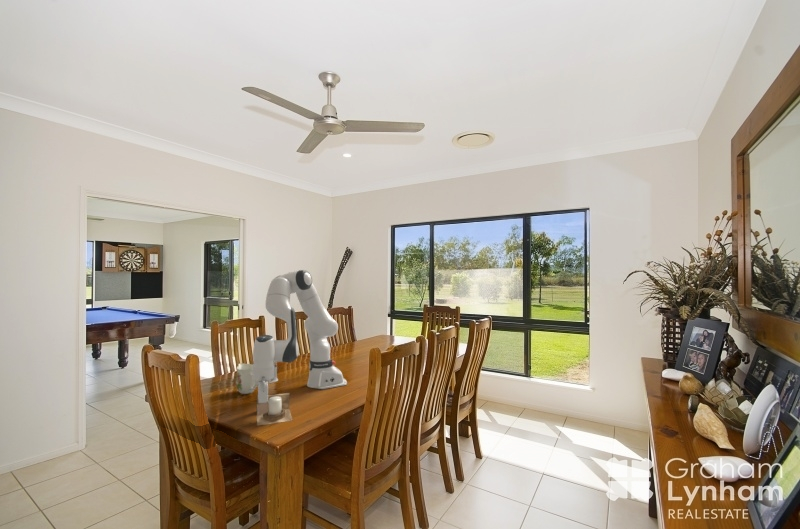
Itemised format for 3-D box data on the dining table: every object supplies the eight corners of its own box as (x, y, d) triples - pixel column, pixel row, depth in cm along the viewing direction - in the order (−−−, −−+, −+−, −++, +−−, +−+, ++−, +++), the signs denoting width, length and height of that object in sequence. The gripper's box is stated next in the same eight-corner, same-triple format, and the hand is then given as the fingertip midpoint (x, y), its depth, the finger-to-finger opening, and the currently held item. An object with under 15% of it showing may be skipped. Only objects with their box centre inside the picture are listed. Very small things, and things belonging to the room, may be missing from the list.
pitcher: (246, 399, 178) (246, 371, 178) (229, 391, 189) (229, 365, 190) (266, 393, 186) (266, 367, 187) (248, 386, 198) (249, 361, 198)
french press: (276, 377, 216) (277, 336, 216) (281, 382, 206) (282, 339, 207) (259, 379, 210) (260, 337, 211) (263, 384, 201) (264, 340, 201)
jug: (279, 411, 157) (279, 395, 156) (283, 416, 153) (283, 400, 152) (256, 417, 151) (255, 401, 150) (259, 424, 147) (259, 407, 146)
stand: (288, 410, 164) (289, 392, 165) (292, 424, 150) (292, 404, 150) (256, 414, 159) (256, 396, 159) (256, 429, 144) (257, 409, 144)
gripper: (272, 380, 144) (271, 414, 143) (270, 367, 163) (269, 397, 162) (255, 381, 141) (254, 416, 141) (255, 368, 160) (254, 399, 160)
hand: (262, 406), depth 152 cm, fingers closed
